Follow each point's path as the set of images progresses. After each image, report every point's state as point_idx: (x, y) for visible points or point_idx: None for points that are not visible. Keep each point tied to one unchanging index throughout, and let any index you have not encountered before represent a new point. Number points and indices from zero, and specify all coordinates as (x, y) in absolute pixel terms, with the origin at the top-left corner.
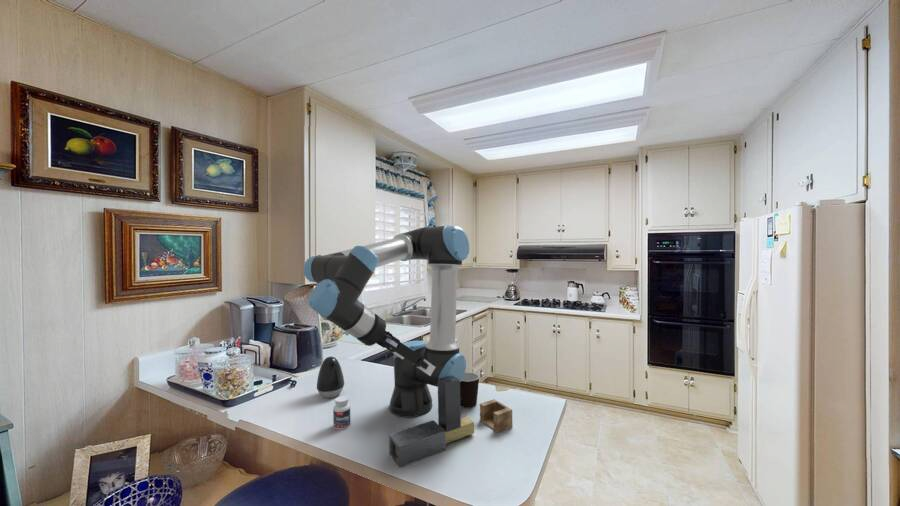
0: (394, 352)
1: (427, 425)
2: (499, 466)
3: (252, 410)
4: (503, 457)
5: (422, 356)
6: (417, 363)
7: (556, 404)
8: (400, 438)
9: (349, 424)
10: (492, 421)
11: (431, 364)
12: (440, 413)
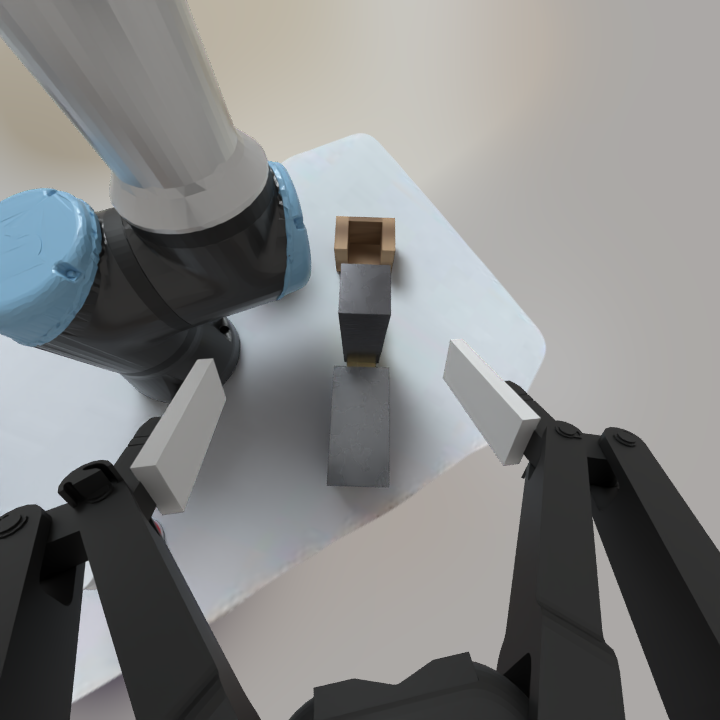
0: (202, 455)
1: (346, 388)
2: (471, 329)
3: None
4: (455, 310)
5: (634, 441)
6: (613, 484)
7: (375, 145)
8: (359, 468)
9: (157, 525)
10: (358, 258)
11: (478, 356)
12: (354, 351)
